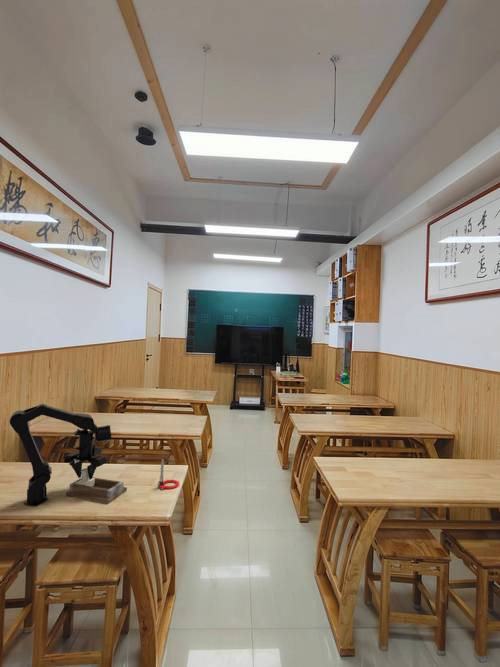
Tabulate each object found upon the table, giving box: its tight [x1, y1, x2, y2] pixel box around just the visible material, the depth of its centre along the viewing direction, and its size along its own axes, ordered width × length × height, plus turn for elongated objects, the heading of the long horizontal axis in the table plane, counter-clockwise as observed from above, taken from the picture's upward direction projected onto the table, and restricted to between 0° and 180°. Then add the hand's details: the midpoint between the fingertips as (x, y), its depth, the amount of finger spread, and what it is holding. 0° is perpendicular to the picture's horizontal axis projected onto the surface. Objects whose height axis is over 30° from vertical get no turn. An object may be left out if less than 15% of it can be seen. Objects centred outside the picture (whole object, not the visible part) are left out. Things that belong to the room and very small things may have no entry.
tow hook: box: [157, 458, 180, 491], centre depth 154 cm, size 8×13×9 cm
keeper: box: [75, 467, 95, 487], centre depth 147 cm, size 6×5×8 cm
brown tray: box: [65, 477, 128, 505], centre depth 145 cm, size 12×22×4 cm, turn 75°
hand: (85, 478), depth 147 cm, fingers open, 6 cm apart
